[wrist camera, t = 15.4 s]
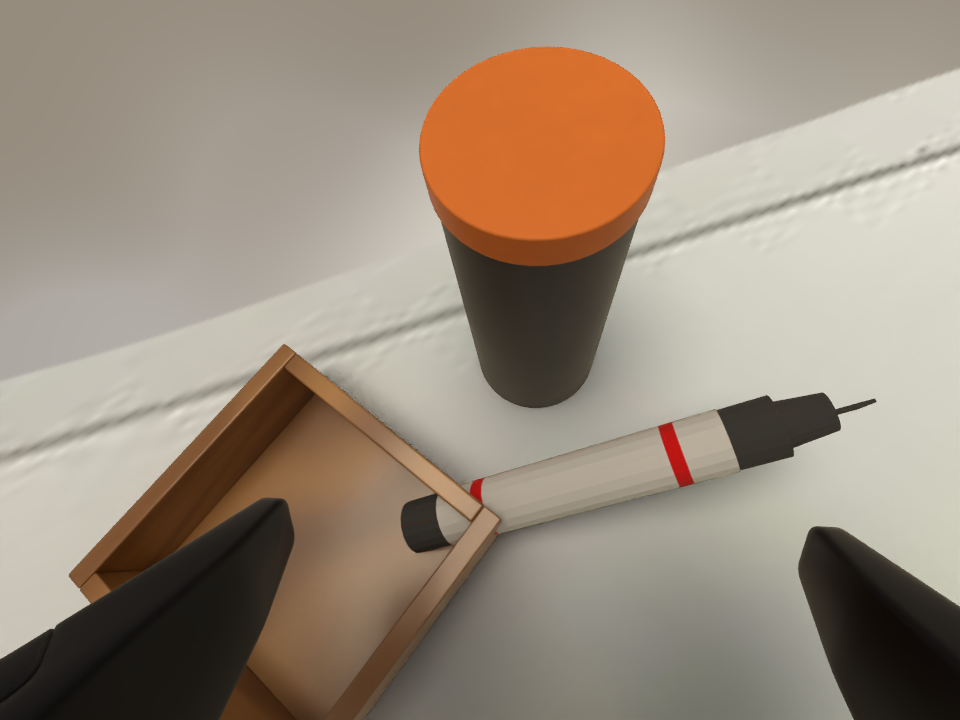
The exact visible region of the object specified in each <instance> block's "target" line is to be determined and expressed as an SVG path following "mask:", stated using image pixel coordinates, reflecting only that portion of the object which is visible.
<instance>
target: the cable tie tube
mask: <svg viewBox="0 0 960 720" xmlns="http://www.w3.org/2000/svg"><path fill="white" fill-rule="evenodd" d="M664 147H665V133H664V125H663V122H662V118H661V114H660V111H659V109H658V107H657V105H656V103H655V100H654V99H653V97H652V96H651V95H650V93H649V92H648V90H647V89H646V88H645V87H644V86H643V84H642V83H641V82H640V81H639V80H638V79H637V78H636V77H634V76H633V75H632V74H631V73H630V72H628V71H627V70H625V69H624V68H622V67H621V66H619V65H618V64H616V63H614V62H612V61H610V60H608V59H606V58H604V57H601V56H598V55H595V54H592V53H589V52H585V51H581V50H577V49H570V48H563V47H533V48H525V49H519V50H514V51H511V52H507V53H503V54H500V55H497V56H494V57H491V58H489V59H486V60H484V61H482V62H480V63H478V64H476V65H474V66H473V67H471V68H470V69H468V70H466V71H464V72H463V73H462V74H461V75H459V76H458V77H457V78H455V79H454V80H453V81H452V82H451V83H450V84H449V85H448V86H447V87H446V88H445V89H444V90H443V91H442V92H441V93H440V95H439V96H438V97H437V98H436V100H435V101H434V103H433V105H432V106H431V108H430V109H429V111H428V114H427V116H426V118H425V121H424V124H423V127H422V131H421V135H420V144H419V155H420V163H421V168H422V171H423V175H424V179H425V182H426V186H427V189H428V193H429V196H430V200H431V202H432V204H433V207H434V210H435V212H436V213H437V215H438V217H439V218H440V220H441V223H442V226H443V230H444V233H445V237H446V241H447V245H448V248H449V252H450V256H451V259H452V263H453V267H454V270H455V274H456V278H457V281H458V285H459V289H460V292H461V296H462V299H463V303H464V307H465V310H466V314H467V318H468V321H469V325H470V329H471V332H472V336H473V340H474V343H475V347H476V351H477V354H478V358H479V362H480V365H481V369H482V372H483V374H484V377H485V378H486V380H487V382H488V383H489V385H490V386H491V387H492V389H493V390H494V391H495V392H496V393H497V394H499V395H500V396H501V397H503V398H504V399H506V400H508V401H509V402H512V403H514V404H517V405H520V406H524V407H533V408H540V407H547V406H552V405H555V404H558V403H560V402H562V401H564V400H566V399H568V398H569V397H571V396H572V395H573V394H574V393H575V392H577V391H578V390H579V388H580V387H581V386H582V385H583V383H584V382H585V380H586V378H587V376H588V374H589V371H590V369H591V365H592V362H593V359H594V356H595V353H596V350H597V347H598V344H599V340H600V337H601V334H602V331H603V328H604V325H605V322H606V319H607V315H608V312H609V309H610V306H611V303H612V300H613V297H614V294H615V290H616V287H617V284H618V281H619V278H620V275H621V272H622V269H623V265H624V262H625V259H626V256H627V253H628V250H629V247H630V244H631V240H632V237H633V234H634V231H635V228H636V225H637V222H638V219H639V217H640V216H641V214H642V212H643V211H644V209H645V207H646V206H647V203H648V201H649V199H650V196H651V194H652V191H653V188H654V185H655V182H656V179H657V176H658V173H659V170H660V167H661V163H662V159H663V155H664Z"/></svg>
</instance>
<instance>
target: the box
mask: <svg viewBox="0 0 960 720" xmlns="http://www.w3.org/2000/svg"><path fill="white" fill-rule="evenodd" d="M435 493H436V494H437V495H438V496H439V497H441V498H442V499H443V500H444V501H445V502H447V503H448V504H449V505H450V506H451V507H453V508H454V509H455V510H456V511H457V512H459V513H460V514H461V515H462V516H463V517H465V518H466V519H467V520H468V521H470V522H472V523H471V524H470V525H469V527H468V528H467V529H466V531H465V532H464V533H463V535H462V536H461V537H460V539H459V540H458V541H457V543H456V544H455V545H449V546H445V547H441V548H437V549H434V550H430V551H426V552H422V553H415V552H413V551H412V550H411V549H410V548H409V547H408V545H407V543H406V541H405V539H404V537H403V533H402V529H401V519H400V518H401V511H402V508H403V506H404V504H406V503H407V502H408V501H412V500H415V499H418V498H422V497H425V496H429V495H432V494H435ZM266 497H268V498H282V499H285V500H286V502H287V503H288V506H289V511H290V515H291V519H292V524H293V528H294V533H295V539H294V545H293V548H292V551H291V554H290V556H289V559H288V562H287V565H286V568H285V570H284V573H283V576H282V579H281V581H280V584H279V587H278V590H277V593H276V595H275V598H274V601H273V604H272V606H271V609H270V612H269V615H268V617H267V620H266V622H265V625H264V627H263V630H262V632H261V634H260V636H259V638H258V641H257V643H256V645H255V647H254V649H253V651H252V653H251V655H250V657H249V659H248V661H247V664H246V666H245V668H244V670H243V672H242V674H241V676H240V678H239V680H238V682H237V684H236V686H235V689H234V691H233V693H232V695H231V697H230V699H229V701H228V703H227V705H226V707H225V709H224V712H223V714H222V716H221V718H220V720H363V719H364V718H365V717H366V715H367V714H368V713H369V711H370V710H371V708H372V707H373V706H374V704H375V703H376V702H377V700H378V699H379V698H380V696H381V695H382V693H383V692H384V691H385V689H386V688H387V687H388V685H389V684H390V683H391V681H392V680H393V678H394V677H395V676H396V674H397V673H398V672H399V670H400V669H401V668H402V666H403V665H404V663H405V662H406V661H407V659H408V658H409V657H410V655H411V654H412V653H413V651H414V650H415V648H416V647H417V646H418V644H419V643H420V642H421V640H422V639H423V637H424V636H425V635H426V633H427V632H428V631H429V629H430V628H431V627H432V625H433V624H434V622H435V621H436V620H437V618H438V617H439V616H440V614H441V613H442V612H443V610H444V609H445V607H446V606H447V605H448V603H449V602H450V601H451V599H452V598H453V597H454V595H455V594H456V592H457V591H458V590H459V588H460V587H461V586H462V584H463V583H464V582H465V580H466V579H467V577H468V576H469V575H470V573H471V572H472V571H473V569H474V568H475V566H476V565H477V564H478V562H479V561H480V560H481V558H482V557H483V556H484V554H485V553H486V551H487V550H488V549H489V547H490V546H491V545H492V543H493V542H494V541H495V539H496V538H497V536H498V535H499V534H497V535H494V534H495V532H496V531H497V529H498V527H499V526H500V524H501V522H502V519H501V518H500V517H498V516H497V515H496V514H495V513H493V512H492V511H491V510H490V509H489V508H487V507H486V506H484V505H483V504H482V503H481V502H480V501H479V500H477V499H476V498H475V497H474V496H472V495H471V494H470V493H469V492H467V491H466V490H465V489H464V488H463V487H461V486H460V485H459V484H458V483H456V482H455V481H454V480H453V479H451V478H450V477H449V476H448V475H446V474H445V473H444V472H443V471H442V470H440V469H439V468H438V467H437V466H435V465H434V464H433V463H432V462H430V461H429V460H428V459H427V458H425V457H424V456H423V455H422V454H421V453H419V452H418V451H417V450H416V449H414V448H413V447H412V446H411V445H409V444H408V443H407V442H406V441H404V440H403V439H402V438H401V437H399V436H398V435H397V434H396V433H395V432H393V431H392V430H391V429H390V428H388V427H387V426H386V425H385V424H383V423H382V422H381V421H380V420H378V419H377V418H376V417H375V416H374V415H372V414H371V413H370V412H369V411H367V410H366V409H365V408H364V407H362V406H361V405H360V404H359V403H357V402H356V401H355V400H354V399H352V398H351V397H350V396H349V395H348V394H346V393H345V392H344V391H343V390H341V389H340V388H339V387H338V386H336V385H335V384H334V383H333V382H331V381H330V380H329V379H328V378H327V377H325V376H324V375H323V374H322V373H320V372H319V371H318V370H317V369H315V368H314V367H313V366H312V365H310V364H309V363H308V362H307V361H305V360H304V359H303V358H302V357H301V356H299V355H298V354H297V353H296V352H294V351H293V350H292V349H291V348H289V347H288V346H287V345H285V344H284V345H282V346H281V347H280V348H279V349H278V351H277V352H276V353H275V354H274V355H273V356H272V357H271V358H270V359H269V360H268V361H267V362H266V363H265V365H264V366H263V367H262V368H261V369H260V370H259V371H258V372H257V373H256V374H255V375H254V376H253V377H252V378H251V380H250V381H249V382H248V383H247V384H246V385H245V386H244V387H243V388H242V389H241V390H240V391H239V392H238V393H237V395H236V396H235V397H234V398H233V399H232V400H231V401H230V402H229V403H228V404H227V405H226V406H225V407H224V408H223V410H222V411H221V412H220V413H219V414H218V415H217V416H216V417H215V418H214V419H213V420H212V421H211V422H210V423H209V425H208V426H207V427H206V428H205V429H204V430H203V431H202V432H201V433H200V434H199V435H198V436H197V437H196V438H195V440H194V441H193V442H192V443H191V444H190V445H189V446H188V447H187V448H186V449H185V450H184V451H183V452H182V453H181V455H180V456H179V457H178V458H177V459H176V460H175V461H174V462H173V463H172V464H171V465H170V466H169V467H168V468H167V470H166V471H165V472H164V473H163V474H162V475H161V476H160V477H159V478H158V479H157V480H156V481H155V482H154V484H153V485H152V486H151V487H150V488H149V489H148V490H147V491H146V492H145V493H144V494H143V495H142V496H141V497H140V499H139V500H138V501H137V502H136V503H135V504H134V505H133V506H132V507H131V508H130V509H129V510H128V511H127V512H126V514H125V515H124V516H123V517H122V518H121V519H120V520H119V521H118V522H117V523H116V524H115V525H114V526H113V527H112V529H111V530H110V531H109V532H108V533H107V534H106V535H105V536H104V537H103V538H102V539H101V540H100V541H99V542H98V544H97V545H96V546H95V547H94V548H93V549H92V550H91V551H90V552H89V553H88V554H87V555H86V556H85V557H84V559H83V560H82V561H81V562H80V563H79V564H78V565H77V566H76V567H75V568H74V569H73V570H72V571H71V572H70V574H69V577H70V578H71V580H72V581H73V582H74V583H75V585H76V586H77V587H78V588H81V589H80V591H81V592H82V593H83V594H84V596H85V597H86V598H87V599H88V601H89V602H90V603H93V602H95V601H96V600H98V599H99V598H101V597H103V596H104V595H106V594H107V593H109V592H111V591H112V590H114V589H116V588H117V587H119V586H120V585H122V584H124V583H125V582H127V581H128V580H130V579H132V578H133V577H135V576H137V575H138V574H140V573H141V572H143V571H145V570H146V569H148V568H149V567H151V566H153V565H154V564H156V563H158V562H159V561H161V560H162V559H164V558H166V557H167V556H169V555H170V554H172V553H174V552H175V551H177V550H178V549H180V548H182V547H183V546H185V545H187V544H188V543H190V542H191V541H193V540H195V539H196V538H198V537H199V536H201V535H203V534H204V533H206V532H208V531H209V530H211V529H212V528H214V527H216V526H217V525H219V524H220V523H222V522H224V521H225V520H227V519H228V518H230V517H232V516H233V515H235V514H237V513H238V512H240V511H241V510H243V509H245V508H246V507H248V506H249V505H251V504H253V503H254V502H256V501H258V500H259V499H261V498H266Z"/></svg>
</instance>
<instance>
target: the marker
mask: <svg viewBox="0 0 960 720" xmlns="http://www.w3.org/2000/svg"><path fill="white" fill-rule="evenodd" d="M875 402H876V400H875V399H871V400H868V401H864V402H860V403H857V404H853V405H850V406H846V407H842V408H839V409H835V408H834V406H833V404H832V402H831V401H830V399H829V398H828V397H827V396H826V394H824V393H818V394H812V395H807V396H801V397H796V398H791V399H785V400H780V401H775V402H773V401H772V400H771V398H770V397H769V396H767V395H766V396H763V397H760V398H756V399H753V400H749V401H746V402H743V403H739V404H736V405H733V406H729V407H726V408H722V409H719V410H715V409H714V410H711V411H707V412H704V413H701V414H697V415H694V416H691V417H687V418H684V419H680V420H677V421H674V422H670V423H667V424H664V425H660V426H657V427H654V428H650V429H647V430H643V431H640V432H637V433H633V434H630V435H627V436H623V437H620V438H617V439H613V440H610V441H606V442H603V443H600V444H596V445H593V446H590V447H586V448H583V449H579V450H576V451H573V452H569V453H566V454H563V455H559V456H556V457H553V458H549V459H546V460H542V461H539V462H536V463H532V464H529V465H526V466H522V467H519V468H515V469H512V470H509V471H505V472H502V473H499V474H495V475H492V476H489V477H485V478H482V479H478V480H475V481H472V482H468V483H465V484H462V485H460V486H461V487H463V488H464V489H465V490H466V491H467V492H469V493H470V494H471V495H472V496H474V497H475V498H476V499H477V500H479V501H480V502H481V503H482V504H483V505H484V506H486V507H487V508H489V509H490V510H491V511H492V512H493V513H495V514H496V515H497V516H498V517H500V518H501V519H502V522H501V524H500V526H499V527H498V529H497V531H496V532H495V534H494V535H497V534H500V533H504V532H508V531H512V530H516V529H520V528H524V527H528V526H532V525H535V524H539V523H543V522H547V521H551V520H555V519H559V518H563V517H566V516H570V515H574V514H578V513H582V512H586V511H590V510H594V509H598V508H601V507H605V506H609V505H613V504H617V503H621V502H625V501H629V500H632V499H636V498H640V497H644V496H648V495H652V494H656V493H660V492H664V491H667V490H671V489H675V488H679V487H683V486H687V485H691V484H695V483H699V482H702V481H706V480H710V479H714V478H718V477H722V476H726V475H730V474H733V473H737V472H740V470H743V469H747V468H751V467H755V466H759V465H763V464H766V463H770V462H774V461H778V460H782V459H786V458H790V457H793V456H794V450H793V448H794V447H797V446H800V445H802V444H805V443H808V442H810V441H813V440H816V439H818V438H821V437H824V436H826V435H829V434H832V433H834V432H837V431H839V430H840V429H841V425H840V420H839V417H838V414H842V413H846V412H849V411H853V410H857V409H860V408H862V407H865V406H867V405H870V404H873V403H875ZM400 519H401V529H402V533H403V537H404V539H405V541H406V543H407V545H408V547H409V548H410V549H411V550H412V551H413V552H415V553H422V552H426V551H430V550H434V549H437V548H441V547H445V546H449V545H455V544H456V543H457V541H458V540H459V539H460V537H461V536H462V535H463V533H464V532H465V531H466V529H467V528H468V527H469V525H470V524H471V523H472V522H470V521H468V520H467V519H466V518H465V517H463V516H462V515H461V514H460V513H459V512H457V511H456V510H455V509H454V508H453V507H451V506H450V505H449V504H448V503H447V502H445V501H444V500H443V499H442V498H441V497H439V496H438V495H437V494H436V493H435V494H432V495H429V496H425V497H422V498H418V499H415V500H412V501H408V502H407V503H406V504H404V506H403V508H402V511H401V518H400Z"/></svg>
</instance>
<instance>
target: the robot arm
mask: <svg viewBox="0 0 960 720" xmlns="http://www.w3.org/2000/svg"><path fill="white" fill-rule="evenodd" d="M294 539H295V533H294V528H293V524H292V519H291V515H290V511H289V506H288V503H287V502H286V500H285V499H282V498H268V497H266V498H261V499H259V500H258V501H256V502H254V503H253V504H251V505H249V506H248V507H246V508H245V509H243V510H241V511H240V512H238V513H237V514H235V515H233V516H232V517H230V518H228V519H227V520H225V521H224V522H222V523H220V524H219V525H217V526H216V527H214V528H212V529H211V530H209V531H208V532H206V533H204V534H203V535H201V536H199V537H198V538H196V539H195V540H193V541H191V542H190V543H188V544H187V545H185V546H183V547H182V548H180V549H178V550H177V551H175V552H174V553H172V554H170V555H169V556H167V557H166V558H164V559H162V560H161V561H159V562H158V563H156V564H154V565H153V566H151V567H149V568H148V569H146V570H145V571H143V572H141V573H140V574H138V575H137V576H135V577H133V578H132V579H130V580H128V581H127V582H125V583H124V584H122V585H120V586H119V587H117V588H116V589H114V590H112V591H111V592H109V593H107V594H106V595H104V596H103V597H101V598H99V599H98V600H96V601H95V602H93V603H91V604H90V605H88V606H86V607H85V608H83V609H82V610H80V611H78V612H77V613H75V614H74V615H72V616H70V617H69V618H67V619H65V620H64V621H62V622H61V623H59V624H58V625H56V627H55V629H49V630H47V631H46V632H44V633H43V634H41V635H40V636H38V637H36V638H35V639H33V640H31V641H30V642H28V643H27V644H25V645H23V646H22V647H20V648H18V649H17V650H15V651H13V652H12V653H10V654H8V655H7V656H5V657H3V658H2V659H0V720H220V718H221V716H222V714H223V712H224V709H225V707H226V705H227V703H228V701H229V699H230V697H231V695H232V693H233V691H234V689H235V686H236V684H237V682H238V680H239V678H240V676H241V674H242V672H243V670H244V668H245V666H246V664H247V661H248V659H249V657H250V655H251V653H252V651H253V649H254V647H255V645H256V643H257V641H258V638H259V636H260V634H261V632H262V630H263V627H264V625H265V622H266V620H267V617H268V615H269V612H270V609H271V606H272V604H273V601H274V598H275V595H276V593H277V590H278V587H279V584H280V581H281V579H282V576H283V573H284V570H285V568H286V565H287V562H288V559H289V556H290V554H291V551H292V548H293V545H294ZM798 571H799V577H800V580H801V583H802V586H803V589H804V592H805V595H806V598H807V601H808V604H809V607H810V610H811V613H812V615H813V618H814V621H815V624H816V627H817V630H818V633H819V636H820V639H821V642H822V645H823V648H824V650H825V653H826V656H827V659H828V662H829V664H830V667H831V670H832V672H833V675H834V677H835V679H836V682H837V684H838V686H839V688H840V691H841V693H842V695H843V697H844V699H845V702H846V704H847V706H848V708H849V710H850V712H851V715H852V717H853V719H854V720H960V606H958V605H956V604H955V603H953V602H952V601H950V600H949V599H947V598H946V597H944V596H943V595H941V594H940V593H938V592H937V591H935V590H934V589H932V588H931V587H929V586H928V585H926V584H925V583H923V582H922V581H920V580H919V579H917V578H916V577H914V576H913V575H911V574H910V573H908V572H907V571H905V570H904V569H902V568H901V567H899V566H898V565H896V564H895V563H893V562H891V561H890V560H888V559H887V558H885V557H884V556H882V555H881V554H879V553H878V552H876V551H875V550H873V549H872V548H870V547H869V546H867V545H866V544H864V543H863V542H861V541H860V540H858V539H857V538H855V537H854V536H852V535H851V534H849V533H848V532H846V531H844V530H843V529H840V528H836V527H819V526H817V527H813V528H811V529H810V530H809V532H808V535H807V538H806V541H805V544H804V548H803V551H802V554H801V557H800V560H799V566H798Z"/></svg>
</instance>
